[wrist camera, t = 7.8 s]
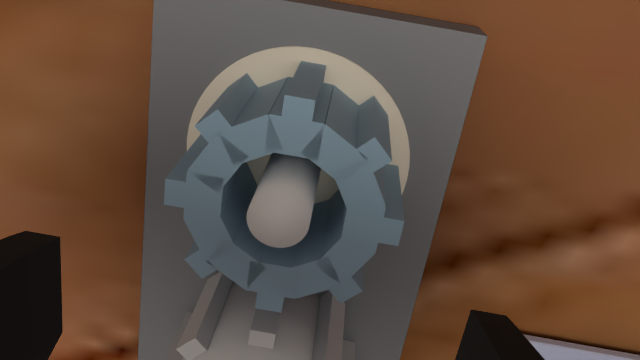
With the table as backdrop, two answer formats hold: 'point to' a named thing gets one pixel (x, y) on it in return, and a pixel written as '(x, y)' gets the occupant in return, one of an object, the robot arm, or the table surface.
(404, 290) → the gear board
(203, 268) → the slate gear
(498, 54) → the table surface
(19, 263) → the robot arm
